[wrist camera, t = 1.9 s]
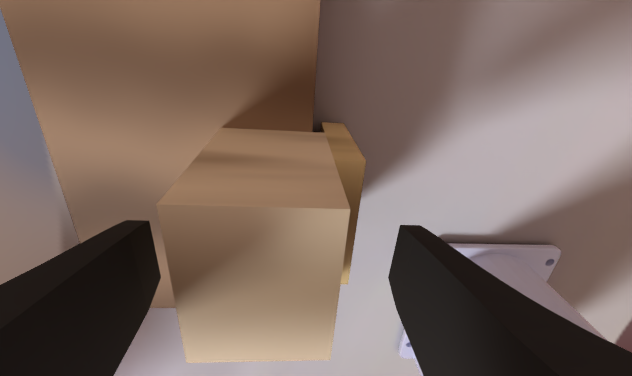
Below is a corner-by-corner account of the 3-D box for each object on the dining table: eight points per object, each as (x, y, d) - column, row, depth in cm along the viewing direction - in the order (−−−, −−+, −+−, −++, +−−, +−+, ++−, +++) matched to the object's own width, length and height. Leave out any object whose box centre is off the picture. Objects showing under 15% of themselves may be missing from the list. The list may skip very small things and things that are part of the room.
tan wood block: (333, 218, 16) (364, 359, 9) (235, 216, 15) (186, 362, 8) (343, 123, 13) (395, 210, 7) (229, 117, 13) (156, 204, 6)
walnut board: (300, 280, 18) (301, 307, 16) (122, 279, 17) (102, 308, 15) (336, -340, 8) (348, -448, 6) (-74, -417, 7) (-195, -567, 5)
